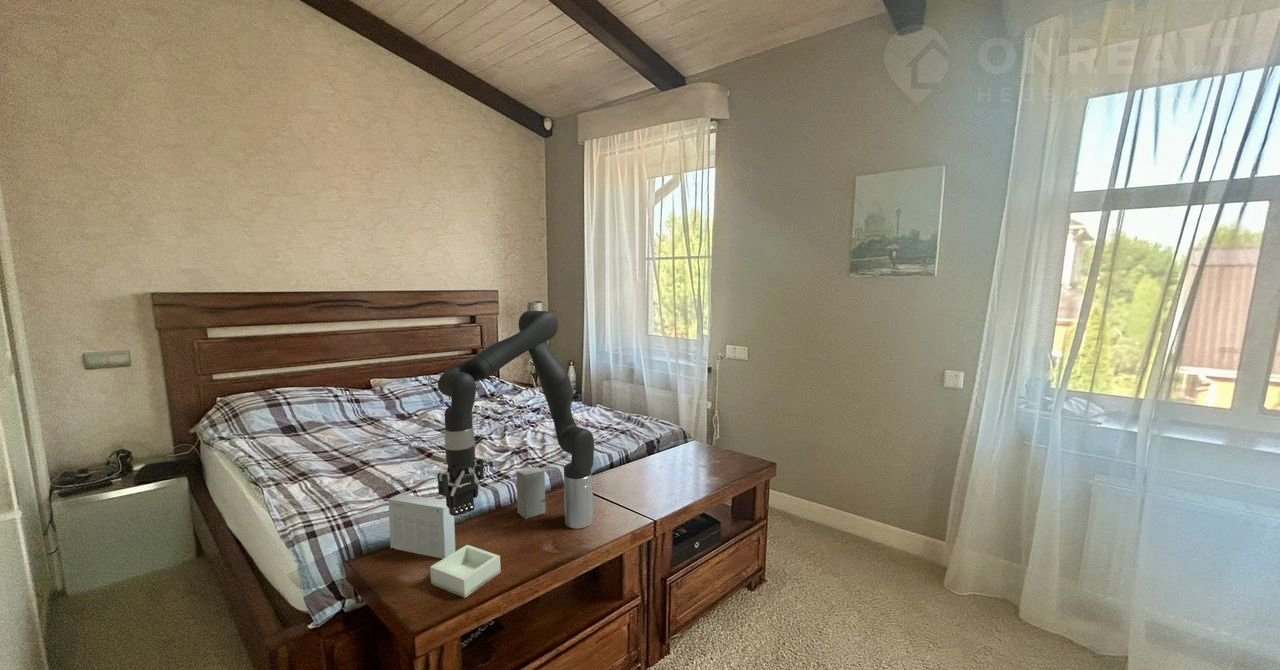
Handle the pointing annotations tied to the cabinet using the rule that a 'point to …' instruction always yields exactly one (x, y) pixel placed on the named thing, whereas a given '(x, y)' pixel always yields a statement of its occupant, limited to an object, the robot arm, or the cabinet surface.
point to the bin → (465, 570)
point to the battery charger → (463, 495)
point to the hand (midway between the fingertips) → (463, 502)
